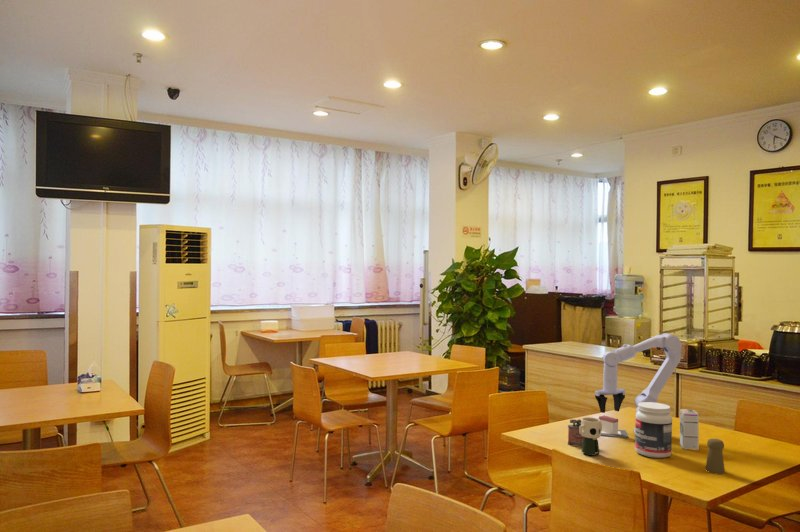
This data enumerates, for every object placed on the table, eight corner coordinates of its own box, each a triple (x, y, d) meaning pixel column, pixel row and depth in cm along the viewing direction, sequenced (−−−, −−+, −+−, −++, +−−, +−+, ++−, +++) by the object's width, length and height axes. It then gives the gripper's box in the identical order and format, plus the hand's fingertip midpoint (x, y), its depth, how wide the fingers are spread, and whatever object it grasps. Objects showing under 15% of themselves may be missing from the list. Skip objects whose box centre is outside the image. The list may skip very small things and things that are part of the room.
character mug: (586, 458, 218) (586, 423, 218) (572, 453, 224) (573, 418, 224) (608, 455, 222) (609, 420, 222) (594, 449, 229) (595, 415, 229)
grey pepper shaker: (701, 468, 210) (702, 436, 210) (717, 468, 210) (718, 436, 210) (712, 474, 204) (712, 441, 204) (728, 474, 204) (729, 441, 204)
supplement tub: (628, 452, 226) (629, 404, 226) (645, 446, 234) (646, 399, 234) (661, 461, 216) (662, 411, 216) (677, 455, 224) (678, 406, 224)
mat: (625, 431, 256) (625, 430, 256) (628, 438, 246) (628, 437, 246) (588, 428, 260) (588, 427, 260) (590, 434, 249) (590, 433, 249)
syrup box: (699, 450, 231) (699, 413, 231) (682, 449, 232) (683, 412, 232) (694, 446, 236) (695, 409, 236) (678, 445, 237) (679, 408, 237)
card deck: (603, 429, 257) (604, 415, 257) (617, 433, 251) (618, 419, 251) (598, 430, 255) (599, 416, 255) (612, 434, 249) (613, 420, 249)
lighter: (587, 444, 236) (588, 418, 236) (589, 446, 233) (590, 421, 233) (566, 443, 237) (567, 417, 237) (568, 445, 234) (568, 420, 234)
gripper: (603, 382, 250) (602, 415, 250) (630, 380, 255) (629, 412, 255) (591, 379, 256) (591, 411, 256) (618, 377, 262) (618, 408, 262)
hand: (609, 411), depth 256 cm, fingers open, 7 cm apart
